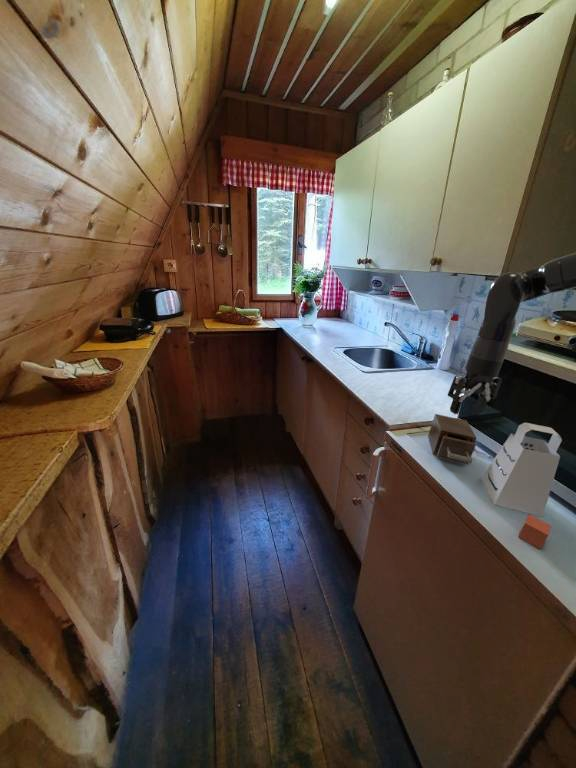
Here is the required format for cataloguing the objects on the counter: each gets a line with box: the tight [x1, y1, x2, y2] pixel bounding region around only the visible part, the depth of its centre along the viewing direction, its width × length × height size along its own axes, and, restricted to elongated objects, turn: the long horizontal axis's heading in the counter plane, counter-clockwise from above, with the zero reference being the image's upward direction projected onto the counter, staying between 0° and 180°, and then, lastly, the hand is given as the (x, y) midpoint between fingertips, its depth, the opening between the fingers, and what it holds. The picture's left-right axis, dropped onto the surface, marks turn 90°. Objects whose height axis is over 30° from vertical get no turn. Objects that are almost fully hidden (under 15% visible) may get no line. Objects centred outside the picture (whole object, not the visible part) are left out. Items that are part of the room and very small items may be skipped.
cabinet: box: [427, 413, 477, 456], centre depth 96 cm, size 12×10×9 cm
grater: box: [481, 422, 563, 518], centre depth 75 cm, size 10×10×20 cm
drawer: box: [436, 433, 477, 465], centre depth 91 cm, size 15×8×7 cm, turn 163°
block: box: [517, 514, 552, 550], centre depth 65 cm, size 4×4×4 cm
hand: (466, 412), depth 84 cm, fingers open, 8 cm apart
